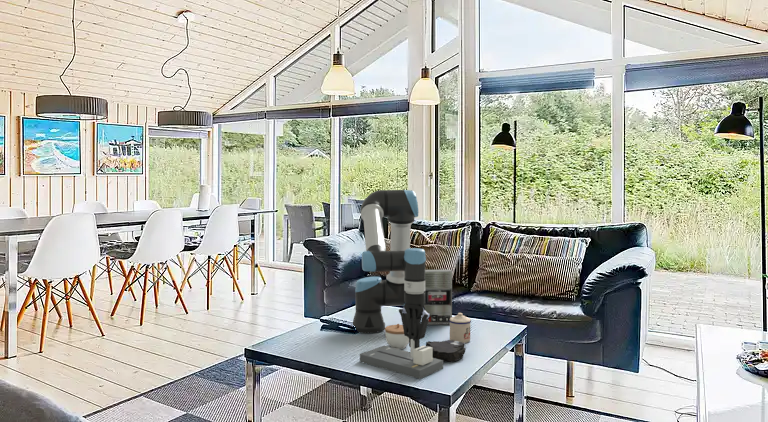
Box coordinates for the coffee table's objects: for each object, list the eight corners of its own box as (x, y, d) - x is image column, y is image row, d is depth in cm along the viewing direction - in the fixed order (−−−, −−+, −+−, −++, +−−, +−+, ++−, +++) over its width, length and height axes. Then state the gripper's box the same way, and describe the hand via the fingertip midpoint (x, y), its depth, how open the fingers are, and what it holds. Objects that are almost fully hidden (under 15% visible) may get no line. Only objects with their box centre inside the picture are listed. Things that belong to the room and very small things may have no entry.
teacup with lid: (468, 344, 237) (468, 316, 237) (446, 342, 241) (446, 314, 240) (474, 336, 249) (474, 310, 248) (454, 334, 252) (454, 308, 251)
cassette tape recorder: (422, 325, 268) (422, 272, 266) (421, 322, 274) (421, 269, 272) (452, 325, 268) (452, 271, 267) (450, 321, 274) (450, 269, 273)
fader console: (359, 361, 216) (359, 353, 216) (384, 353, 227) (384, 345, 226) (419, 379, 198) (419, 370, 198) (443, 368, 208) (443, 360, 208)
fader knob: (413, 363, 204) (413, 348, 204) (423, 358, 209) (423, 344, 209) (422, 365, 202) (422, 351, 201) (432, 361, 206) (432, 347, 206)
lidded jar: (414, 344, 238) (414, 321, 237) (406, 351, 228) (407, 328, 227) (389, 341, 242) (389, 319, 241) (381, 349, 231) (381, 326, 231)
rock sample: (464, 364, 213) (465, 351, 213) (422, 362, 216) (422, 349, 216) (466, 350, 231) (466, 338, 230) (427, 348, 233) (427, 336, 233)
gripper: (394, 291, 207) (393, 355, 209) (422, 296, 199) (422, 363, 201) (407, 287, 213) (406, 350, 215) (435, 292, 205) (435, 358, 206)
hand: (414, 356), depth 208 cm, fingers closed
